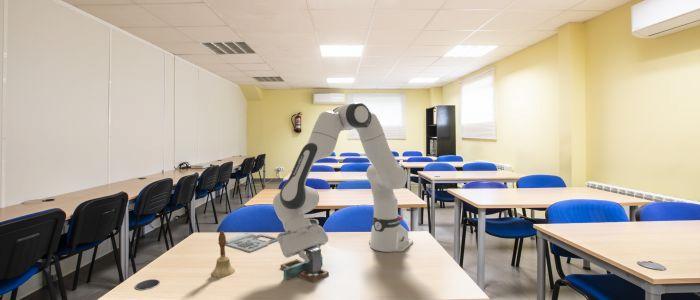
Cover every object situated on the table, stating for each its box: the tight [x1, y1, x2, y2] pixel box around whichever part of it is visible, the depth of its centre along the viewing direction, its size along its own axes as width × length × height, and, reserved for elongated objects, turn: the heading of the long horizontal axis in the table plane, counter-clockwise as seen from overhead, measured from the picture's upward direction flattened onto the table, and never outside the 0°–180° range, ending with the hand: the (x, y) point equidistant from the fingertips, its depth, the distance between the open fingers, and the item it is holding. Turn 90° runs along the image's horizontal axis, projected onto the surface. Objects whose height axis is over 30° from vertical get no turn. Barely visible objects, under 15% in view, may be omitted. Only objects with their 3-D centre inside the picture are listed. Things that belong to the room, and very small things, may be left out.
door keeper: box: [280, 256, 330, 283], centre depth 124 cm, size 18×19×4 cm
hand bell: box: [211, 230, 236, 278], centre depth 123 cm, size 8×8×16 cm
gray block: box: [305, 246, 322, 275], centre depth 120 cm, size 4×4×8 cm
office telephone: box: [225, 231, 278, 253], centre depth 159 cm, size 23×3×20 cm
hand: (314, 259), depth 120 cm, fingers closed on gray block, 4 cm apart
